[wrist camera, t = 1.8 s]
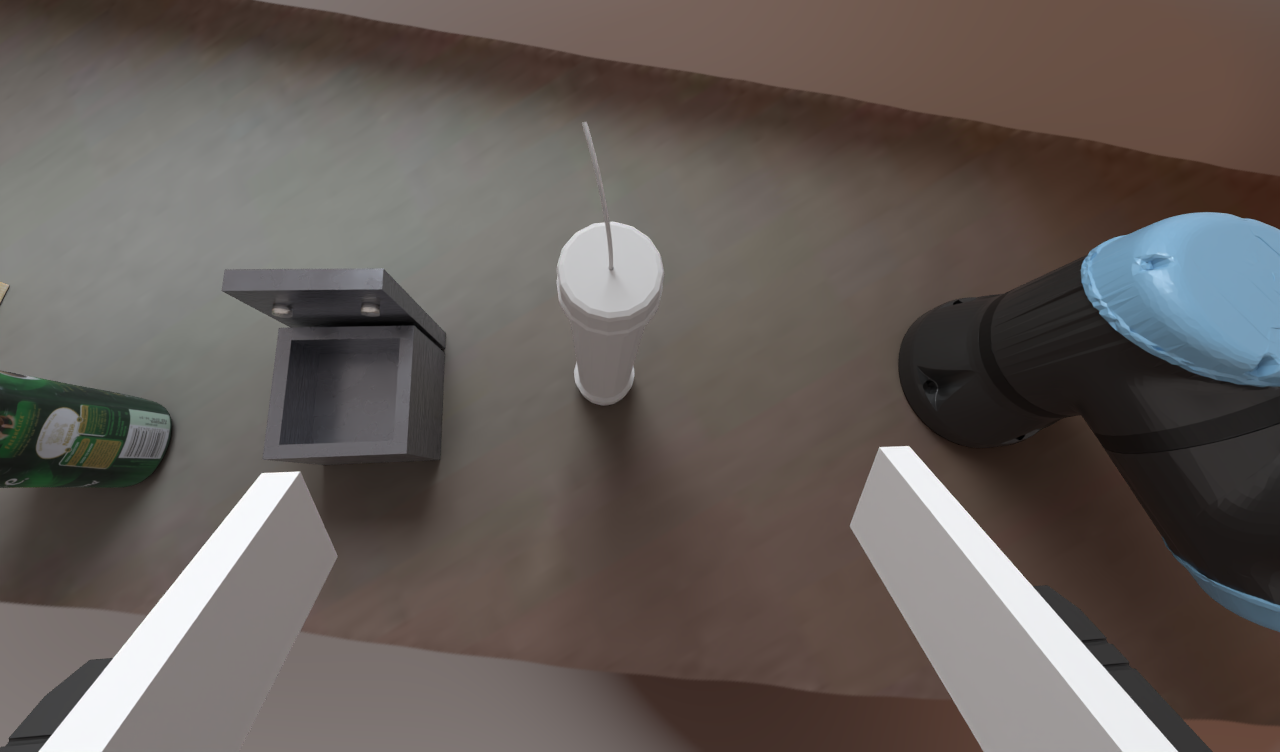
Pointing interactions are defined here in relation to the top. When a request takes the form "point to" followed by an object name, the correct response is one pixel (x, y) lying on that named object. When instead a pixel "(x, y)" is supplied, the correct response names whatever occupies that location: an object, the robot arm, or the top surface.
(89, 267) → the top surface
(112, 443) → the coffee jar
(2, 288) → the coffeecake box
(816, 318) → the top surface
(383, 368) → the grey open box
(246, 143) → the top surface
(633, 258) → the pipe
